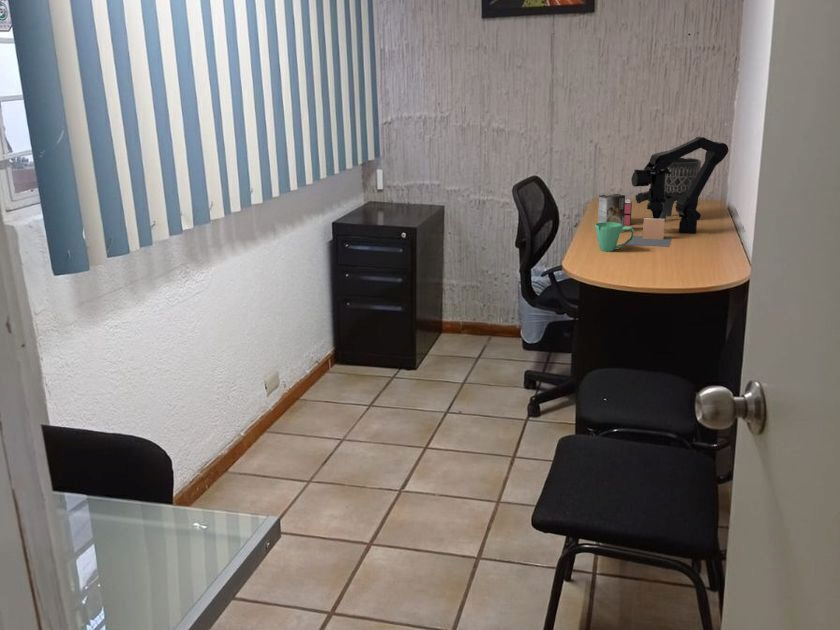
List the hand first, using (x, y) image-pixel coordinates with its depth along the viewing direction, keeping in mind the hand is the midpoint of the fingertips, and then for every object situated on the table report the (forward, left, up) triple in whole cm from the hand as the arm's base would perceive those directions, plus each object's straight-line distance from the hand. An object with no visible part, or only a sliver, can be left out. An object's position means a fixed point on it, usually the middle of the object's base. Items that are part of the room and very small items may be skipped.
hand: (655, 223), depth 335 cm
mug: (+13, +31, -5) cm, 34 cm away
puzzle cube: (+17, -23, -5) cm, 29 cm away
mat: (+1, +14, -5) cm, 15 cm away
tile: (0, +9, -4) cm, 10 cm away
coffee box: (+18, -1, -5) cm, 19 cm away
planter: (-6, -37, -5) cm, 38 cm away
